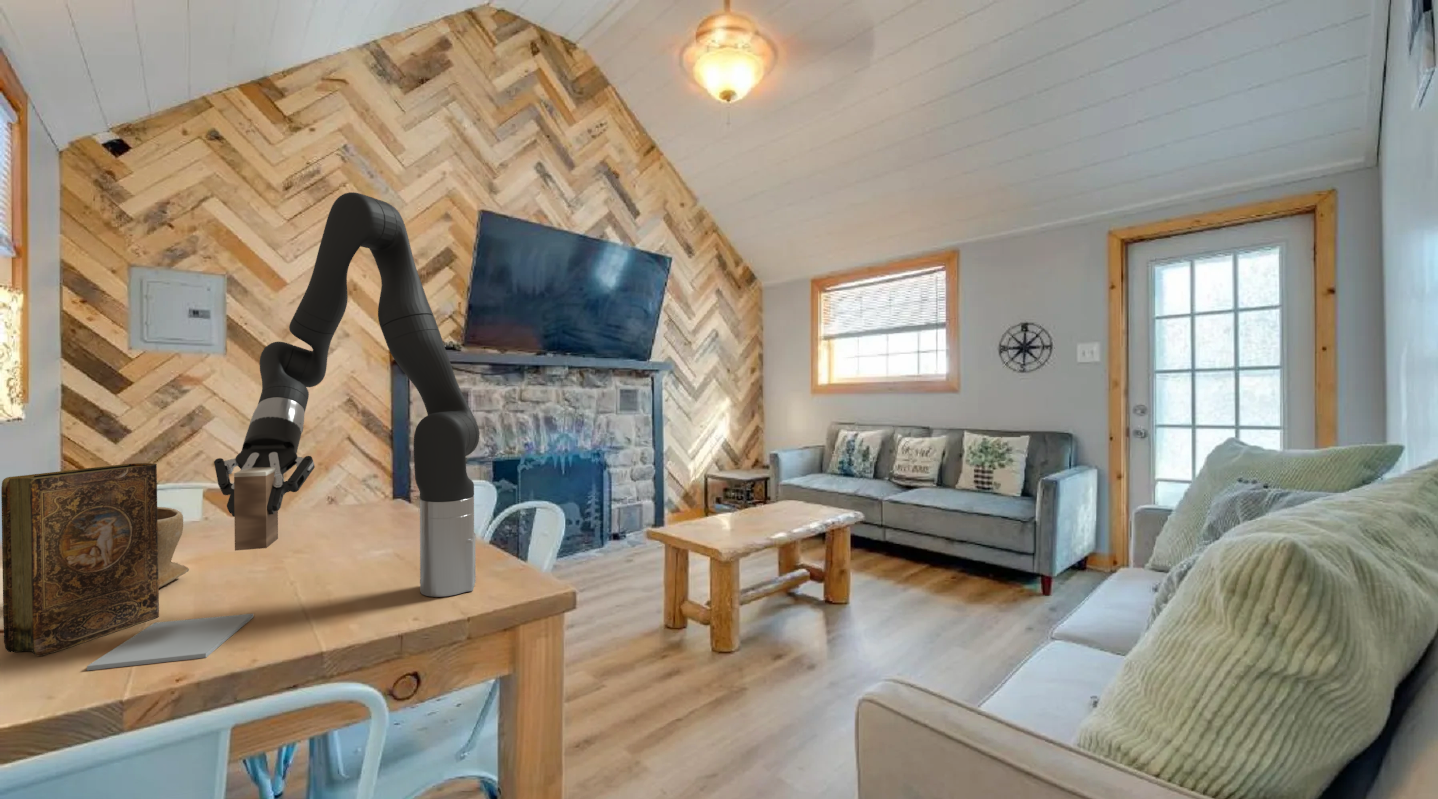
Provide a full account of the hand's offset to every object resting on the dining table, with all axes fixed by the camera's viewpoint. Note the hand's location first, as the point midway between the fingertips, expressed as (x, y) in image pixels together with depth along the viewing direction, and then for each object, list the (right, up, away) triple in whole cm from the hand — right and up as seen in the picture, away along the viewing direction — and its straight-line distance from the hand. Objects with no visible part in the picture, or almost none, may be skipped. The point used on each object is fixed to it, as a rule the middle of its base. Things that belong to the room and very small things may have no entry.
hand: (252, 512), depth 93 cm
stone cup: (-33, -18, +17) cm, 41 cm away
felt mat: (-7, -18, -5) cm, 20 cm away
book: (-23, -18, -3) cm, 29 cm away
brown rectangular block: (-1, -5, +2) cm, 6 cm away
